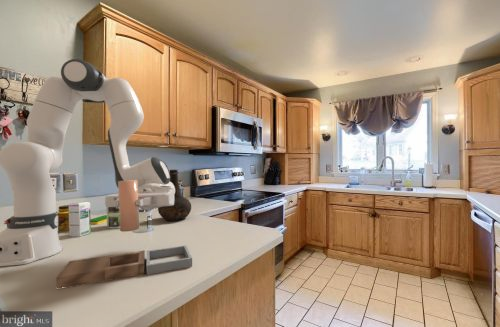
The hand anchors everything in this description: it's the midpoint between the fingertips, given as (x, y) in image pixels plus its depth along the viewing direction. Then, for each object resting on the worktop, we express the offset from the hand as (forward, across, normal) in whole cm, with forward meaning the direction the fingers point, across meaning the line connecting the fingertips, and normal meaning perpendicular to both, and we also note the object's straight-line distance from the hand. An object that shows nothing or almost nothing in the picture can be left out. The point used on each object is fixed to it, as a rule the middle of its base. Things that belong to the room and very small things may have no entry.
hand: (127, 203), depth 68 cm
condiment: (-44, -56, +19) cm, 74 cm away
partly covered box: (0, -7, +20) cm, 21 cm away
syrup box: (-37, -43, +20) cm, 60 cm away
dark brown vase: (-67, -11, +20) cm, 71 cm away
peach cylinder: (-1, 0, +8) cm, 8 cm away
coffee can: (-52, -35, +20) cm, 66 cm away
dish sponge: (-62, -51, +20) cm, 83 cm away
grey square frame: (-7, +8, +20) cm, 23 cm away
